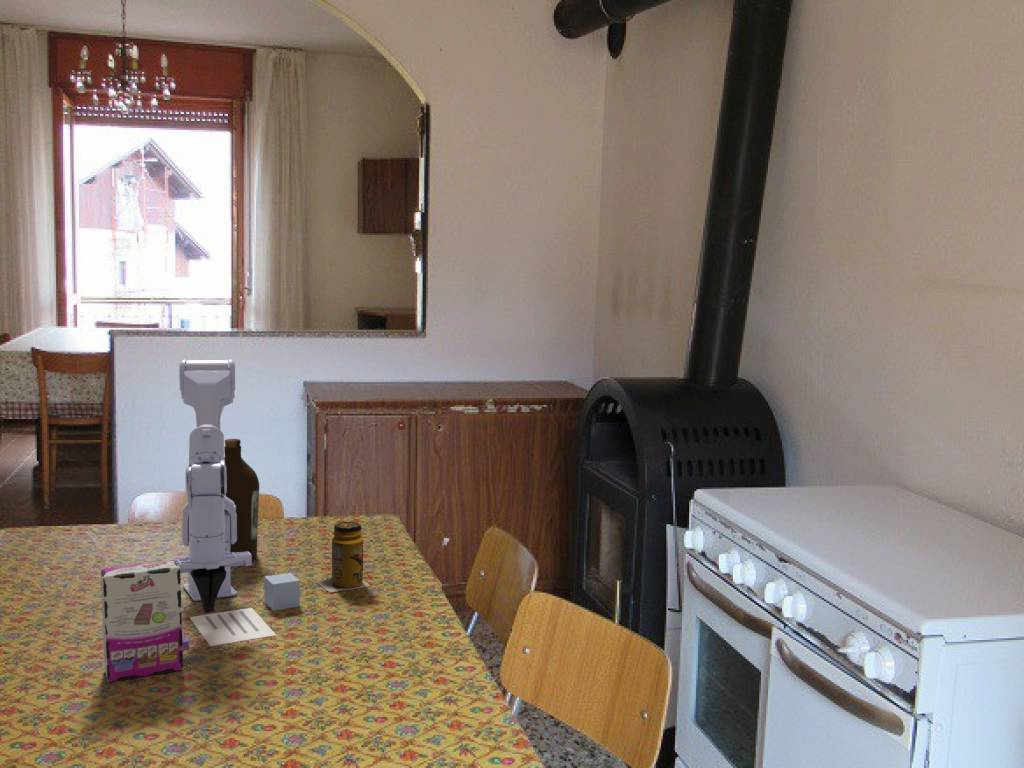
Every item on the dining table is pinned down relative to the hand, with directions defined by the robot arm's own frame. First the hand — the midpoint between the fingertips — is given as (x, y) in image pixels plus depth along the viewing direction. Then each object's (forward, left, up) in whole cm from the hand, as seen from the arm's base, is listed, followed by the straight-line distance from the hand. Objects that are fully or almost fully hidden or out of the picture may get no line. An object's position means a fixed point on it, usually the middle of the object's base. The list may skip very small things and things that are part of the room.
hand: (208, 610), depth 176 cm
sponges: (+1, -8, -4) cm, 9 cm away
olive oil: (-40, +15, -4) cm, 43 cm away
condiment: (-13, +29, -4) cm, 32 cm away
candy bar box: (+13, -13, -4) cm, 19 cm away
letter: (0, +4, -3) cm, 5 cm away
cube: (-7, +15, -3) cm, 17 cm away
